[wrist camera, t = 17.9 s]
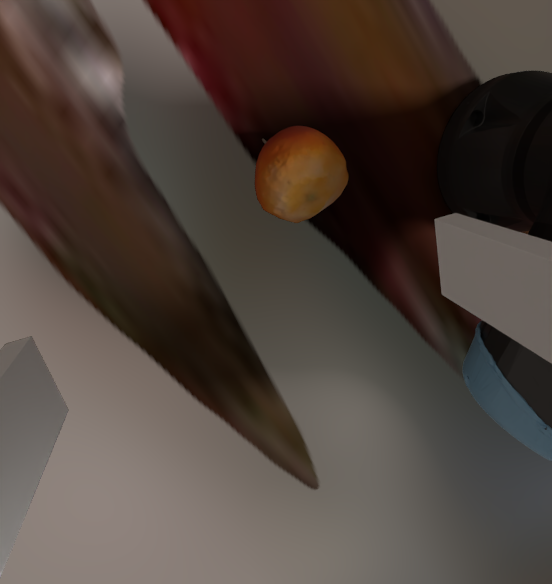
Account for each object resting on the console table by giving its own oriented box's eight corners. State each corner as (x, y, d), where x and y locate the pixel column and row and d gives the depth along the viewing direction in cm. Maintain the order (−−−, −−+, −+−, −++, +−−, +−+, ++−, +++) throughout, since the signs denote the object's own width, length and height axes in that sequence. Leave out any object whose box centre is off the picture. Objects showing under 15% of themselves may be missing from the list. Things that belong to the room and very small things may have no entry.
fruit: (322, 92, 38) (359, 143, 34) (324, 167, 45) (356, 219, 40) (232, 117, 38) (257, 172, 33) (247, 189, 44) (270, 245, 39)
